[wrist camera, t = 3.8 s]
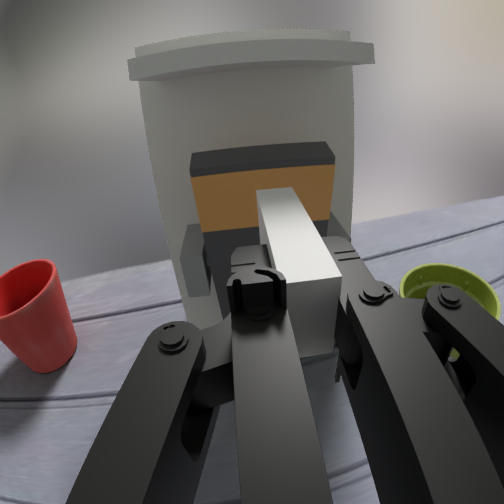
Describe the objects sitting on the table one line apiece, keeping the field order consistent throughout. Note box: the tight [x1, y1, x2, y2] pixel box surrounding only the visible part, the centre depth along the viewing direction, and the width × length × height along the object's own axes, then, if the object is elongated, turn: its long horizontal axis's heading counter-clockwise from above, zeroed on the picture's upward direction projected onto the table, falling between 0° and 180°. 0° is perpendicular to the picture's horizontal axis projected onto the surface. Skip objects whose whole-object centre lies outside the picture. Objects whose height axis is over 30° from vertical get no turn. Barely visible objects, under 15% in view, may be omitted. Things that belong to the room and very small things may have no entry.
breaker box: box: [128, 29, 375, 330], centre depth 25 cm, size 16×13×28 cm
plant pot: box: [399, 263, 501, 359], centre depth 24 cm, size 9×9×9 cm
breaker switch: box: [189, 141, 335, 320], centre depth 23 cm, size 9×2×16 cm, turn 94°
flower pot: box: [0, 259, 77, 373], centre depth 28 cm, size 11×11×10 cm
